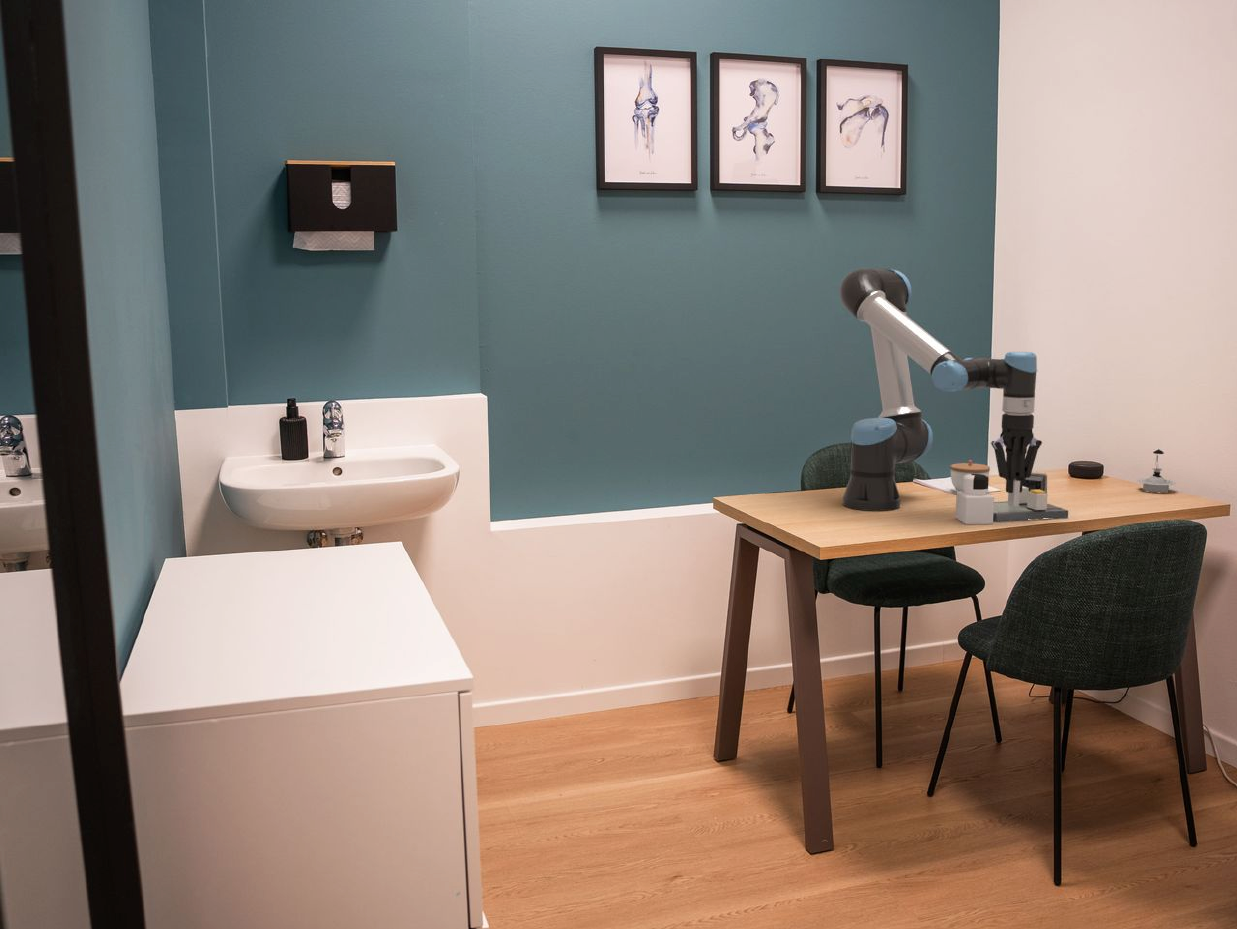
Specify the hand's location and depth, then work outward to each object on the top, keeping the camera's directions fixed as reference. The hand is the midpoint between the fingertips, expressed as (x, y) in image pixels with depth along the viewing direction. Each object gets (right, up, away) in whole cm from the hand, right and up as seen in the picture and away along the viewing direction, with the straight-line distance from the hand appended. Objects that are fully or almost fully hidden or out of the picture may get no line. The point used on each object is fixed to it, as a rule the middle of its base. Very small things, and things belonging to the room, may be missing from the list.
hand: (1013, 505), depth 265 cm
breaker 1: (+5, 0, +10) cm, 11 cm away
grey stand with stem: (+54, +3, +35) cm, 65 cm away
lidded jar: (0, +2, +35) cm, 35 cm away
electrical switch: (+11, -1, +18) cm, 21 cm away
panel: (+3, -3, +5) cm, 7 cm away
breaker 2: (+7, -1, +2) cm, 7 cm away
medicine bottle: (-11, -4, -2) cm, 12 cm away
